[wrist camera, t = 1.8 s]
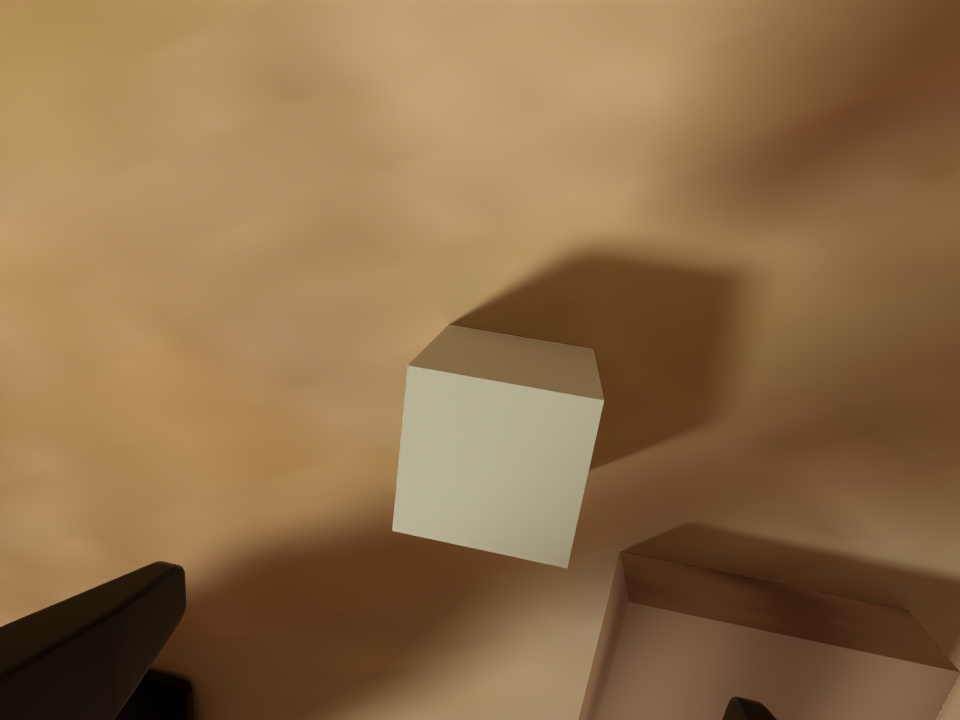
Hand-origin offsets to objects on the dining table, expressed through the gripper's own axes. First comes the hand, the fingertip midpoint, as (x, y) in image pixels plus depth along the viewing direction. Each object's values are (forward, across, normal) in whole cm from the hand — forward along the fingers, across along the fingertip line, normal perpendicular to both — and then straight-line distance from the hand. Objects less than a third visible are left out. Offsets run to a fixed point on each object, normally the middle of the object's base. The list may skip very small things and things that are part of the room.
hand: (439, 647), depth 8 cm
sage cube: (+11, 0, 0) cm, 11 cm away
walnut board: (+11, -10, +10) cm, 18 cm away
